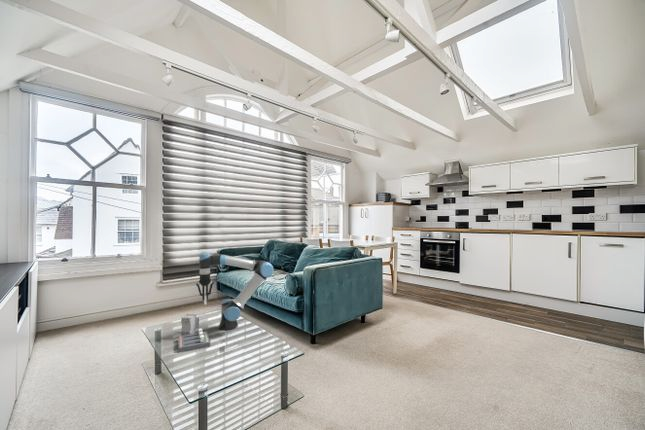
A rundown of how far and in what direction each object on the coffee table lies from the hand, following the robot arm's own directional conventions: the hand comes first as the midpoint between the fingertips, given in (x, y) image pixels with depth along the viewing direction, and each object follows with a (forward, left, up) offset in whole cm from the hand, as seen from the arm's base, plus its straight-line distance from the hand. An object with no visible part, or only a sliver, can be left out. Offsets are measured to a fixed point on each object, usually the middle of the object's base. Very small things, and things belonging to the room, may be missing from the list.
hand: (205, 304), depth 214 cm
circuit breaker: (+9, -12, -26) cm, 30 cm away
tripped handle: (+3, +8, -22) cm, 24 cm away
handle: (+3, +1, -22) cm, 22 cm away
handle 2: (+3, +15, -22) cm, 27 cm away
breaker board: (+8, +8, -25) cm, 28 cm away
